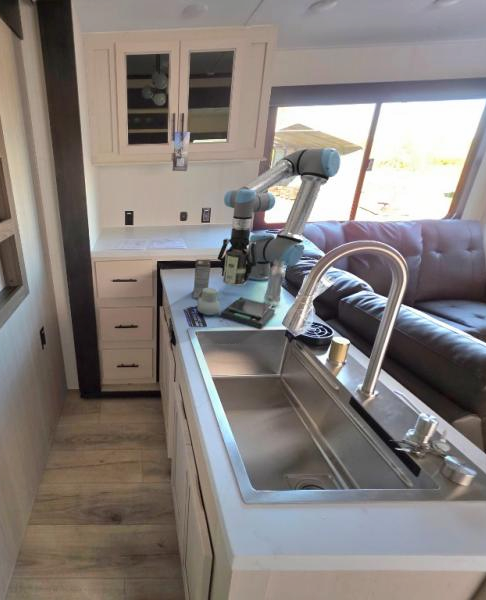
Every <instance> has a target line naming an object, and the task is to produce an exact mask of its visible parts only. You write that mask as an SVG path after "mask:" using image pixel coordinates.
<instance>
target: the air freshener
mask: <svg viewBox="0 0 486 600" xmlns="http://www.w3.org/2000/svg"><path fill="white" fill-rule="evenodd" d="M217 298H218V290H217V289H216V288H214V287H208V288H204V289H203V290H202V297H201V298H199V299H198V298H197V306H196V307H197V312H198V313H199V314H202V315H204V316H214V315H217V314H219V313H220V310H221V309H220V308H221V306H220V300H219V299H217Z"/></svg>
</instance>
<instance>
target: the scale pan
mask: <svg viewBox="0 0 486 600" xmlns="http://www.w3.org/2000/svg"><path fill="white" fill-rule="evenodd" d="M236 300H237V301H236ZM236 300H235V301H236V302H235V301H234V302H235V303H233V302H232V303H233V304H232V303H231V304H232V305H231V304H230V305H231V306H230V305H229V306H230V307H229V306H227V307H228V310H231V311H235V312H238V313H242V314H245V315H249V316H252V317H256V318H259V319H261V318H262V317H263V316H264V315H265V314H266V313H267V312H268V311H269V310H270V309H272V307H273V306H272V305H268V304H265V302H260V301H256V300H252V299H248V298H244V297H239V298H238V299H236Z"/></svg>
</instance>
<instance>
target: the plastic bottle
mask: <svg viewBox="0 0 486 600" xmlns="http://www.w3.org/2000/svg"><path fill="white" fill-rule="evenodd" d="M284 266H285V265H284V260H281V259H275V261H274V262H273V265H272V266H270V270H269V273H268V280H267V287H266V290H265V293H264V296H263V303H264V304H268V305H272V307H275V306H278V305H280V303H281V292H282V285H283V282H284V279H285V276H286V270H285V267H284Z"/></svg>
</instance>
